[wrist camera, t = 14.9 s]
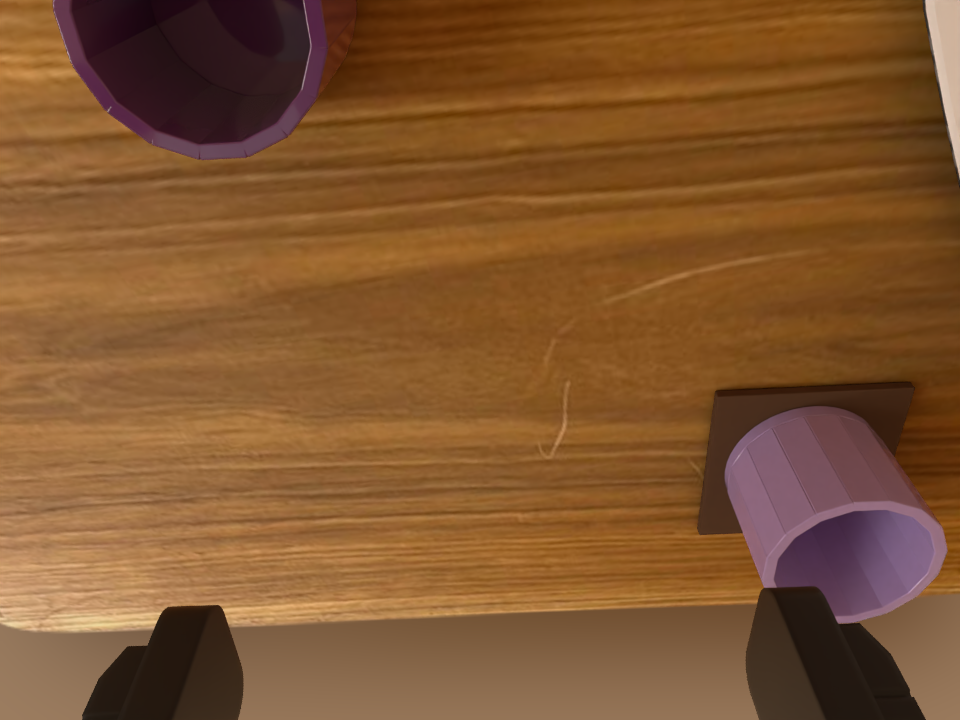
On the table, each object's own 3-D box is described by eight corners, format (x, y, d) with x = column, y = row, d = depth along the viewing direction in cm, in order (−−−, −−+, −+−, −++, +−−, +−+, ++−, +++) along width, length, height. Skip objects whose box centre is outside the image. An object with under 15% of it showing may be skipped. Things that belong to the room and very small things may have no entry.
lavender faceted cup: (716, 523, 31) (752, 626, 27) (733, 408, 28) (777, 505, 24) (861, 517, 31) (921, 620, 27) (895, 401, 28) (968, 497, 24)
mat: (696, 528, 32) (699, 535, 32) (715, 390, 28) (717, 396, 28) (868, 521, 32) (872, 528, 31) (910, 381, 28) (916, 387, 27)
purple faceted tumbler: (174, 109, 23) (104, 166, 18) (111, -124, 19) (8, -119, 15) (370, 97, 22) (344, 152, 18) (338, -140, 19) (298, -140, 15)
